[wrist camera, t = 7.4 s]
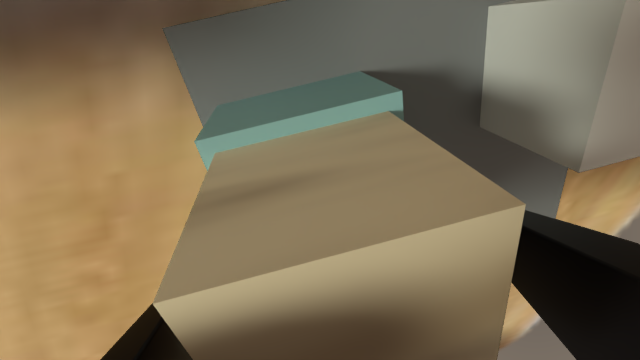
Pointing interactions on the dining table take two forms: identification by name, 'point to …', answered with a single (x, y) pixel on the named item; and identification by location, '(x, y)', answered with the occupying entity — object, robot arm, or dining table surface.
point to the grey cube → (565, 79)
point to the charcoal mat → (370, 72)
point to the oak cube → (343, 251)
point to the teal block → (296, 111)
